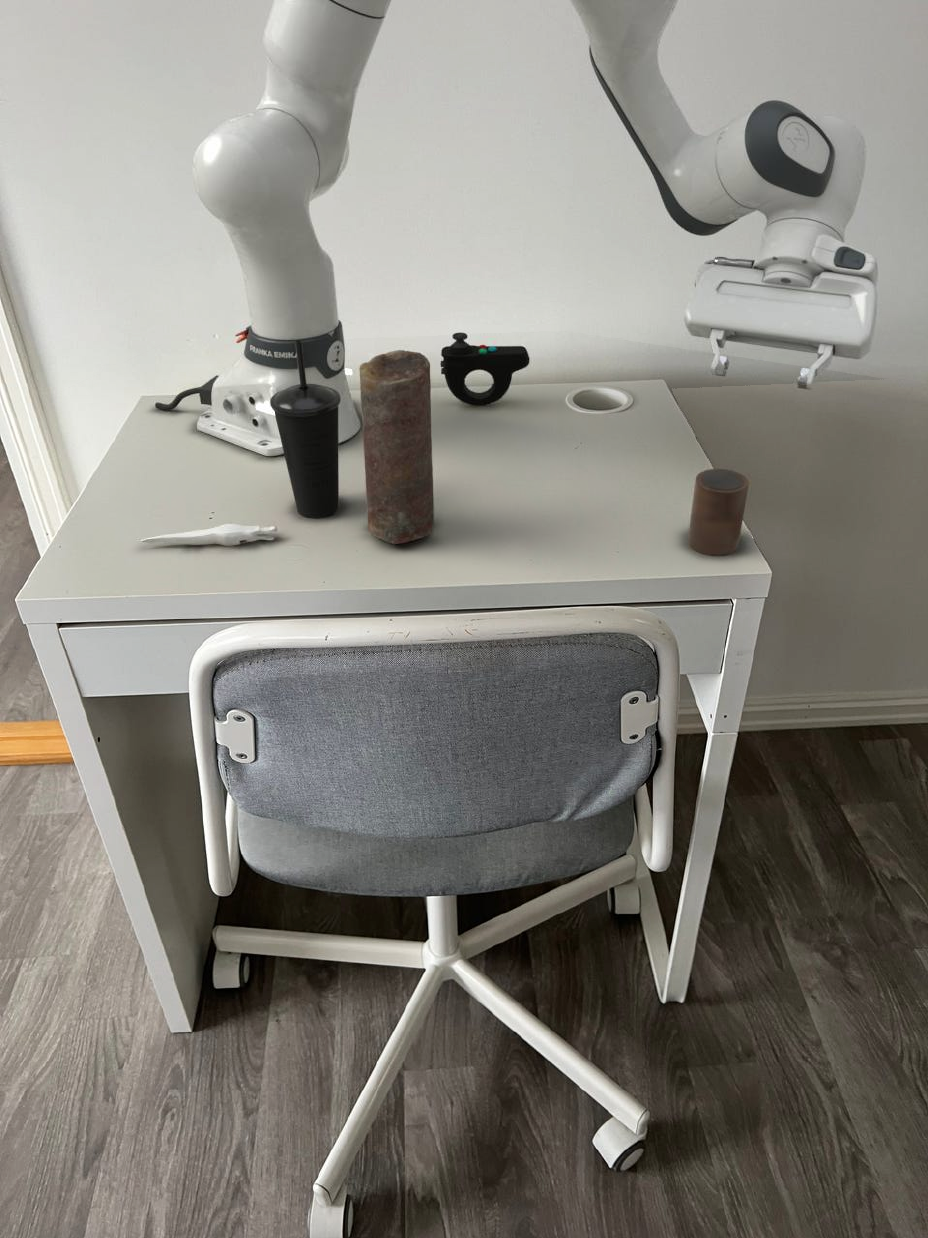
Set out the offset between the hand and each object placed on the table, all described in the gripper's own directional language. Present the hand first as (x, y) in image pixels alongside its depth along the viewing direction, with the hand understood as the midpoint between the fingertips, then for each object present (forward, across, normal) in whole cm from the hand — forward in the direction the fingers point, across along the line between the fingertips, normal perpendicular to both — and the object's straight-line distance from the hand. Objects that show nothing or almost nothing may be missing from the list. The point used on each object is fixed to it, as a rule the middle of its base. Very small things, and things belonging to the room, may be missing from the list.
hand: (760, 380), depth 107 cm
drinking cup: (+27, -44, -7) cm, 52 cm away
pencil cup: (+18, 0, +2) cm, 19 cm away
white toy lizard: (+36, -50, -15) cm, 63 cm away
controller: (+2, -40, +18) cm, 44 cm away
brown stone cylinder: (+28, -32, -8) cm, 43 cm away
